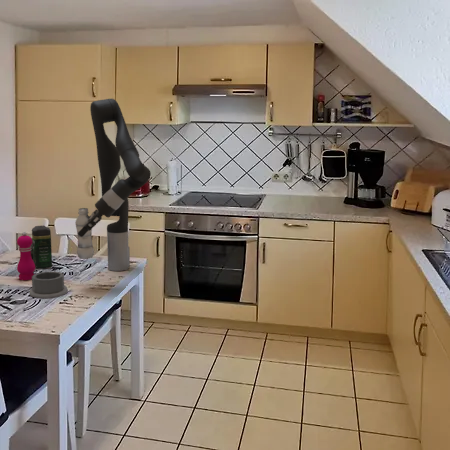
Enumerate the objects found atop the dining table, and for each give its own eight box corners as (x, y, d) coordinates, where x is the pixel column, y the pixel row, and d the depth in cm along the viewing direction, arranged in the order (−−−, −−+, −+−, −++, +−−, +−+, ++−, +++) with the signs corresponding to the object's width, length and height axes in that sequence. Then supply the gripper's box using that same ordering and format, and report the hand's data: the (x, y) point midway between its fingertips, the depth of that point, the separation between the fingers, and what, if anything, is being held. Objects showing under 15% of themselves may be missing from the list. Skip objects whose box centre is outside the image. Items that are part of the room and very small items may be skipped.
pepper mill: (30, 281, 226) (27, 234, 222) (14, 280, 228) (11, 233, 224) (39, 276, 233) (36, 230, 229) (23, 275, 234) (21, 229, 231)
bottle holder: (47, 284, 222) (46, 269, 221) (75, 289, 216) (74, 273, 215) (21, 294, 209) (20, 278, 208) (49, 300, 204) (49, 283, 202)
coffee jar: (53, 268, 246) (51, 227, 242) (35, 270, 242) (33, 229, 239) (50, 262, 254) (48, 223, 251) (32, 264, 251) (30, 225, 247)
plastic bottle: (97, 257, 219) (95, 207, 215) (88, 261, 213) (85, 210, 208) (83, 255, 221) (81, 206, 217) (73, 260, 215) (71, 209, 210)
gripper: (103, 193, 220) (74, 223, 220) (102, 199, 206) (71, 231, 206) (117, 205, 222) (88, 235, 222) (116, 212, 208) (86, 244, 208)
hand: (80, 233), depth 214 cm, fingers closed on plastic bottle, 6 cm apart
